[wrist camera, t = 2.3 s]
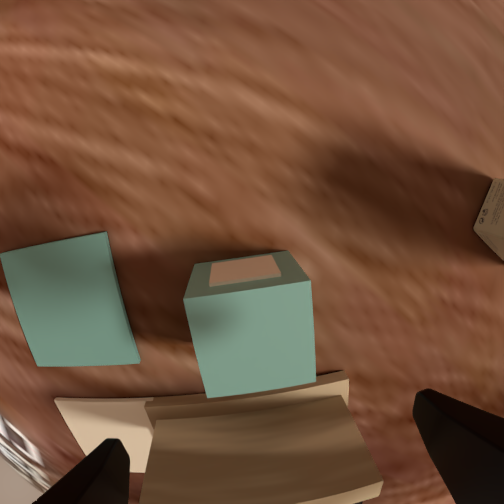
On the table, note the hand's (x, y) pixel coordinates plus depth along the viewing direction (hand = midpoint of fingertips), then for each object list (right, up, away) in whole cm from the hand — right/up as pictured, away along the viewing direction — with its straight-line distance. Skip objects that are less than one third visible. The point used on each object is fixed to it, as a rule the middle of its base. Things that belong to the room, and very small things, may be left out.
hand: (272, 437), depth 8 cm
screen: (-1, -5, +12) cm, 13 cm away
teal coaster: (-12, +2, +9) cm, 15 cm away
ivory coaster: (-10, -9, +12) cm, 18 cm away
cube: (-1, +3, +10) cm, 10 cm away
